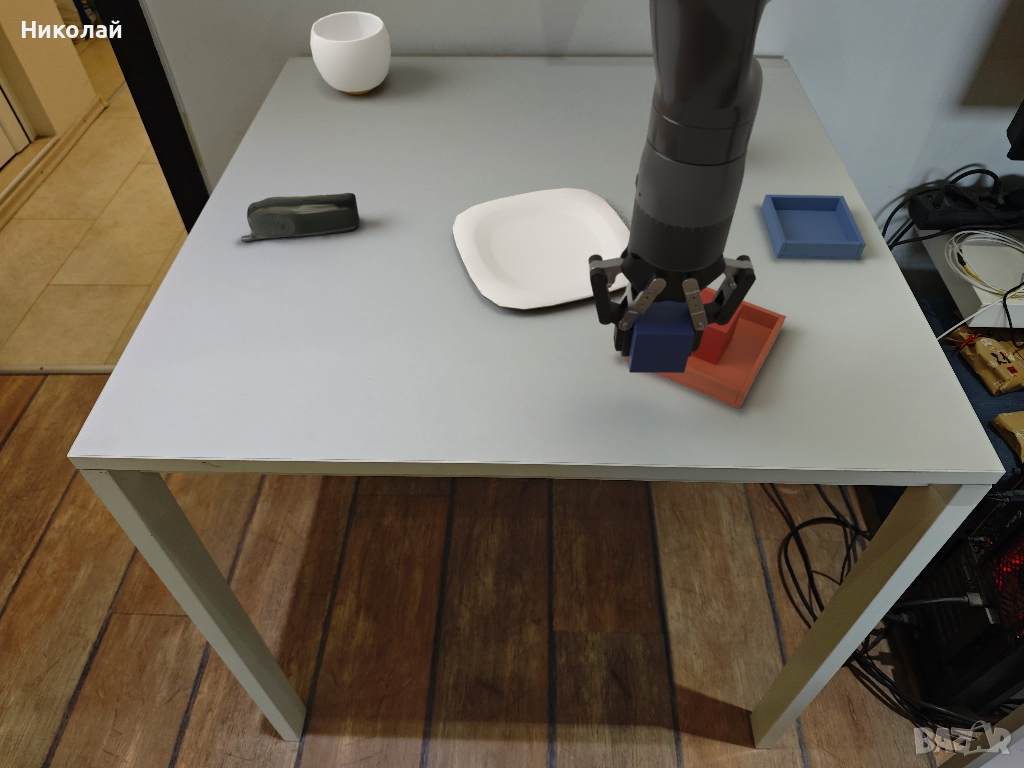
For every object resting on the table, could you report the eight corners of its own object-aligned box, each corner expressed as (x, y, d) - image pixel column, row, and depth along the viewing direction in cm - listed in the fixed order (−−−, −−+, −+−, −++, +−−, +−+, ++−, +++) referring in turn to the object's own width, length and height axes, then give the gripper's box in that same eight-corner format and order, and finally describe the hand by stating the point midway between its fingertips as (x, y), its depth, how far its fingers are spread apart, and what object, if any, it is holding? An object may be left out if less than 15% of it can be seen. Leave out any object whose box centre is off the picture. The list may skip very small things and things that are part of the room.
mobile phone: (354, 187, 92) (232, 199, 90) (356, 200, 90) (231, 213, 88) (359, 219, 96) (242, 231, 93) (361, 233, 94) (241, 246, 91)
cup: (309, 102, 116) (296, 41, 108) (332, 66, 124) (321, 7, 116) (384, 107, 114) (376, 46, 107) (402, 71, 122) (395, 11, 115)
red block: (732, 337, 80) (743, 304, 77) (716, 365, 78) (726, 332, 74) (690, 321, 82) (699, 288, 78) (673, 348, 79) (681, 315, 75)
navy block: (676, 334, 69) (686, 294, 65) (684, 373, 65) (694, 334, 62) (624, 333, 69) (630, 294, 65) (629, 372, 66) (636, 333, 62)
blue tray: (837, 211, 97) (843, 195, 95) (858, 260, 90) (866, 244, 88) (760, 210, 97) (765, 194, 95) (776, 258, 90) (782, 242, 88)
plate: (592, 189, 100) (593, 178, 99) (662, 288, 86) (664, 277, 85) (441, 219, 95) (440, 208, 94) (489, 329, 82) (489, 318, 81)
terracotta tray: (779, 332, 82) (786, 316, 80) (739, 409, 74) (745, 393, 72) (671, 291, 86) (675, 275, 84) (623, 360, 79) (626, 344, 77)
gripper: (593, 224, 52) (579, 380, 65) (794, 224, 51) (739, 381, 64) (587, 166, 57) (575, 322, 69) (771, 165, 56) (724, 322, 69)
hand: (654, 349), depth 67 cm, fingers closed on navy block, 5 cm apart
